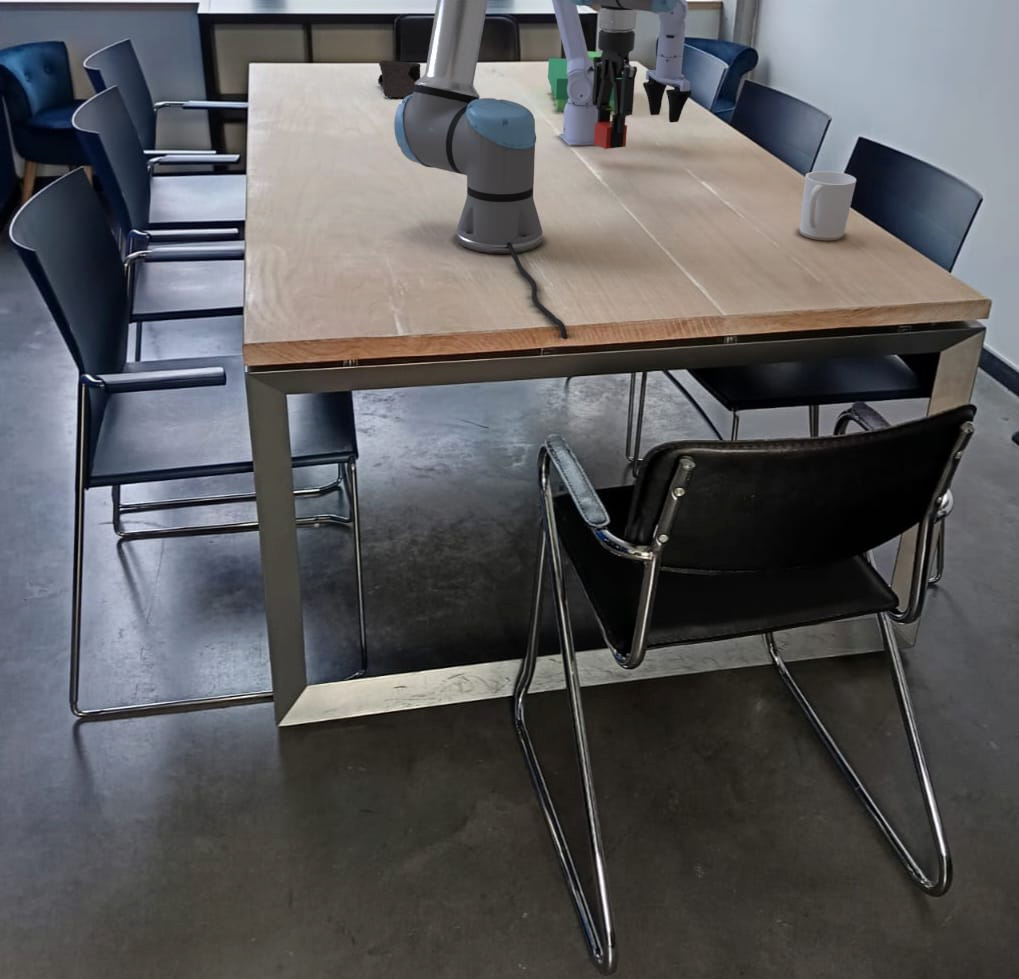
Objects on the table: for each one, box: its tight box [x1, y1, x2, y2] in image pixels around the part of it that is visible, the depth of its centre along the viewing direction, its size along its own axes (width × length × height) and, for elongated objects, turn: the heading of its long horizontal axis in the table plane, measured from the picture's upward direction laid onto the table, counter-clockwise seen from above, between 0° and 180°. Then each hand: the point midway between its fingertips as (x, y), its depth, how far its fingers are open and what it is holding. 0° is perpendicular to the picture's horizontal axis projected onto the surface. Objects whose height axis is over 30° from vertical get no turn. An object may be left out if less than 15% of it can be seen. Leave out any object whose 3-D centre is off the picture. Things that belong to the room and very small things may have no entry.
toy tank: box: [547, 50, 622, 112], centre depth 293 cm, size 18×12×35 cm
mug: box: [798, 170, 857, 241], centre depth 199 cm, size 11×9×10 cm
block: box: [594, 120, 628, 150], centre depth 238 cm, size 5×5×4 cm
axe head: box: [377, 59, 421, 99], centre depth 299 cm, size 18×8×15 cm
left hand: (609, 143), depth 239 cm, fingers closed on block, 5 cm apart
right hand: (664, 118), depth 250 cm, fingers open, 7 cm apart
